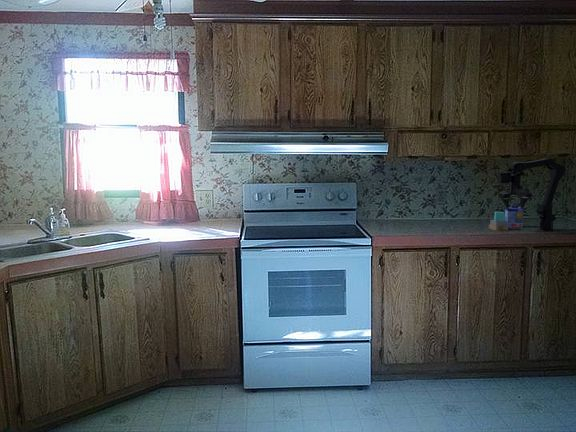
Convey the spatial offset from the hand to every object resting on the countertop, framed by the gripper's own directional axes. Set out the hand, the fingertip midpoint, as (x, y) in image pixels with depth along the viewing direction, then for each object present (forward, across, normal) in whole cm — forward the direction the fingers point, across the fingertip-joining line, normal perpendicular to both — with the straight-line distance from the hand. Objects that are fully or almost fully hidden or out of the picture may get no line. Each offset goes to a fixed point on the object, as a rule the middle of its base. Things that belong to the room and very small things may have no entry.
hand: (514, 209), depth 297 cm
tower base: (+13, -6, +6) cm, 16 cm away
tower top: (+10, -6, +6) cm, 14 cm away
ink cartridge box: (+13, +8, +13) cm, 20 cm away
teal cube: (+7, -6, +6) cm, 11 cm away
